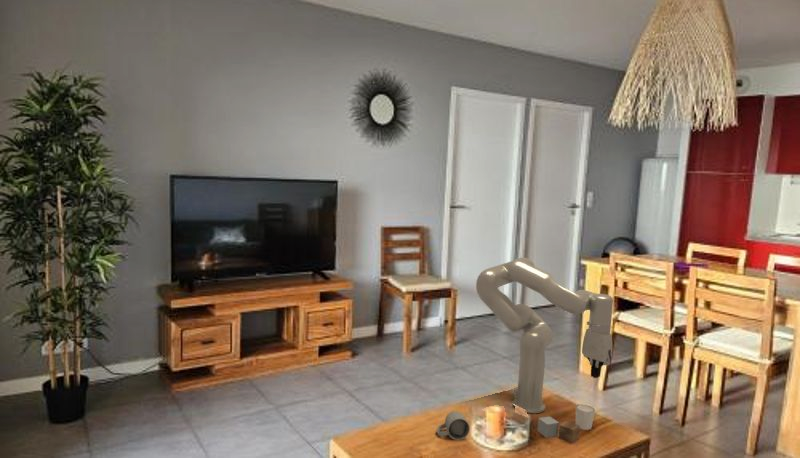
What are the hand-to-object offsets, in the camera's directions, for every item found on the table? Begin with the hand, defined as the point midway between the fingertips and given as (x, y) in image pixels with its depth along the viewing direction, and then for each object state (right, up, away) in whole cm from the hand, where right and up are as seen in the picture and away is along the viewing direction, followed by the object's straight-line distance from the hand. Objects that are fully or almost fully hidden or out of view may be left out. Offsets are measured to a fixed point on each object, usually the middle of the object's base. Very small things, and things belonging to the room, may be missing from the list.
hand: (595, 376), depth 199 cm
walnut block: (-13, -19, -10) cm, 25 cm away
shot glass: (-4, -19, 0) cm, 19 cm away
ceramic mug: (-54, -17, -12) cm, 58 cm away
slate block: (-19, -18, -7) cm, 28 cm away
